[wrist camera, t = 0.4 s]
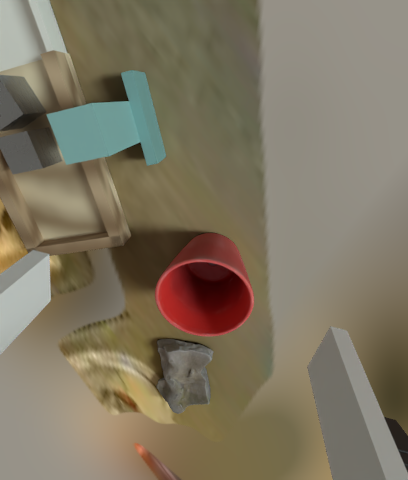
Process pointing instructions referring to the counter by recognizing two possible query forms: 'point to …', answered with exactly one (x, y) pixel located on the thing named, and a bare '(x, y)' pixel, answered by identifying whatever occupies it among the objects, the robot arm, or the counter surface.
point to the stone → (184, 373)
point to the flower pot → (206, 287)
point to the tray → (27, 32)
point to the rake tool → (110, 125)
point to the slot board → (61, 177)
